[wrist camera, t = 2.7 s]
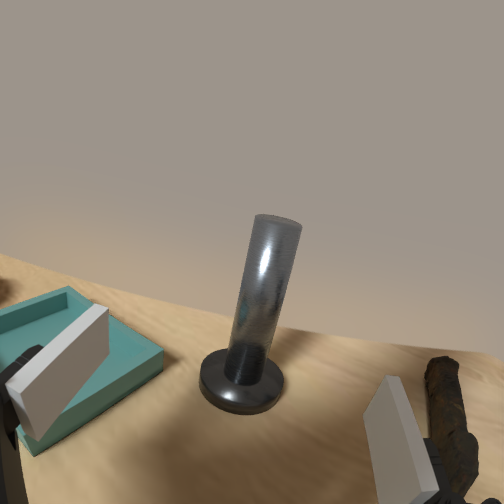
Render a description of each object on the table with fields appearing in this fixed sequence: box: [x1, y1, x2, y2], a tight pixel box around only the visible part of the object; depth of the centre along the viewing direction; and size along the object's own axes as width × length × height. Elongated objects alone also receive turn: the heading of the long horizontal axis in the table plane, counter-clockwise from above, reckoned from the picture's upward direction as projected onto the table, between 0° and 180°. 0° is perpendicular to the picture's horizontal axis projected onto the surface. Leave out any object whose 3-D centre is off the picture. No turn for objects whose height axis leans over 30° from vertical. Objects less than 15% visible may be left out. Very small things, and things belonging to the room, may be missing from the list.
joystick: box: [199, 214, 302, 415], centre depth 24 cm, size 7×7×14 cm
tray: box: [0, 286, 164, 457], centre depth 22 cm, size 14×14×2 cm
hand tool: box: [424, 356, 479, 498], centre depth 21 cm, size 19×4×5 cm, turn 152°
